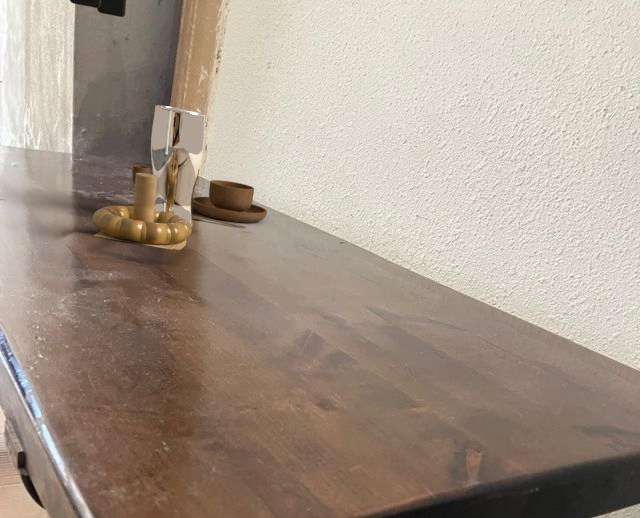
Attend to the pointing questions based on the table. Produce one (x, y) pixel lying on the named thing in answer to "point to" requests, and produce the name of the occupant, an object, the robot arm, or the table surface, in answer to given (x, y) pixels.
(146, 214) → the post
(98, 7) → the robot arm
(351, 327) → the table surface
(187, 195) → the beer glass
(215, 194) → the place setting
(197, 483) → the table surface
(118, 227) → the ring
